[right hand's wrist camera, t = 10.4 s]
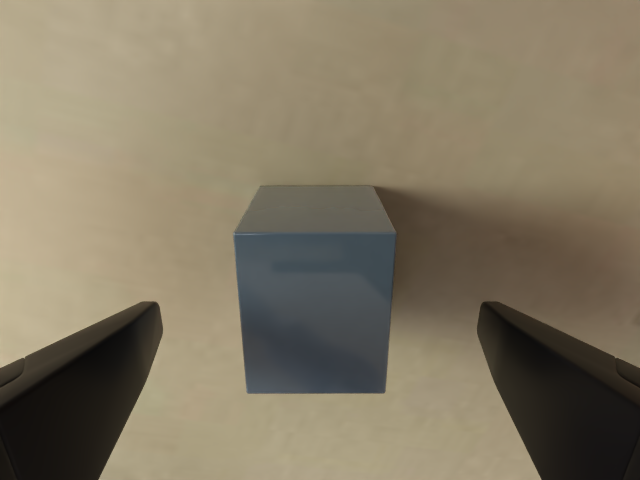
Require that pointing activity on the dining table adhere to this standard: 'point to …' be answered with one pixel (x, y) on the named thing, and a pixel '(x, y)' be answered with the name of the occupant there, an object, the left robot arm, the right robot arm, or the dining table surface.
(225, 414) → the dining table surface
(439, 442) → the dining table surface
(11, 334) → the dining table surface
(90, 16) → the dining table surface
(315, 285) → the blue-grey cube
